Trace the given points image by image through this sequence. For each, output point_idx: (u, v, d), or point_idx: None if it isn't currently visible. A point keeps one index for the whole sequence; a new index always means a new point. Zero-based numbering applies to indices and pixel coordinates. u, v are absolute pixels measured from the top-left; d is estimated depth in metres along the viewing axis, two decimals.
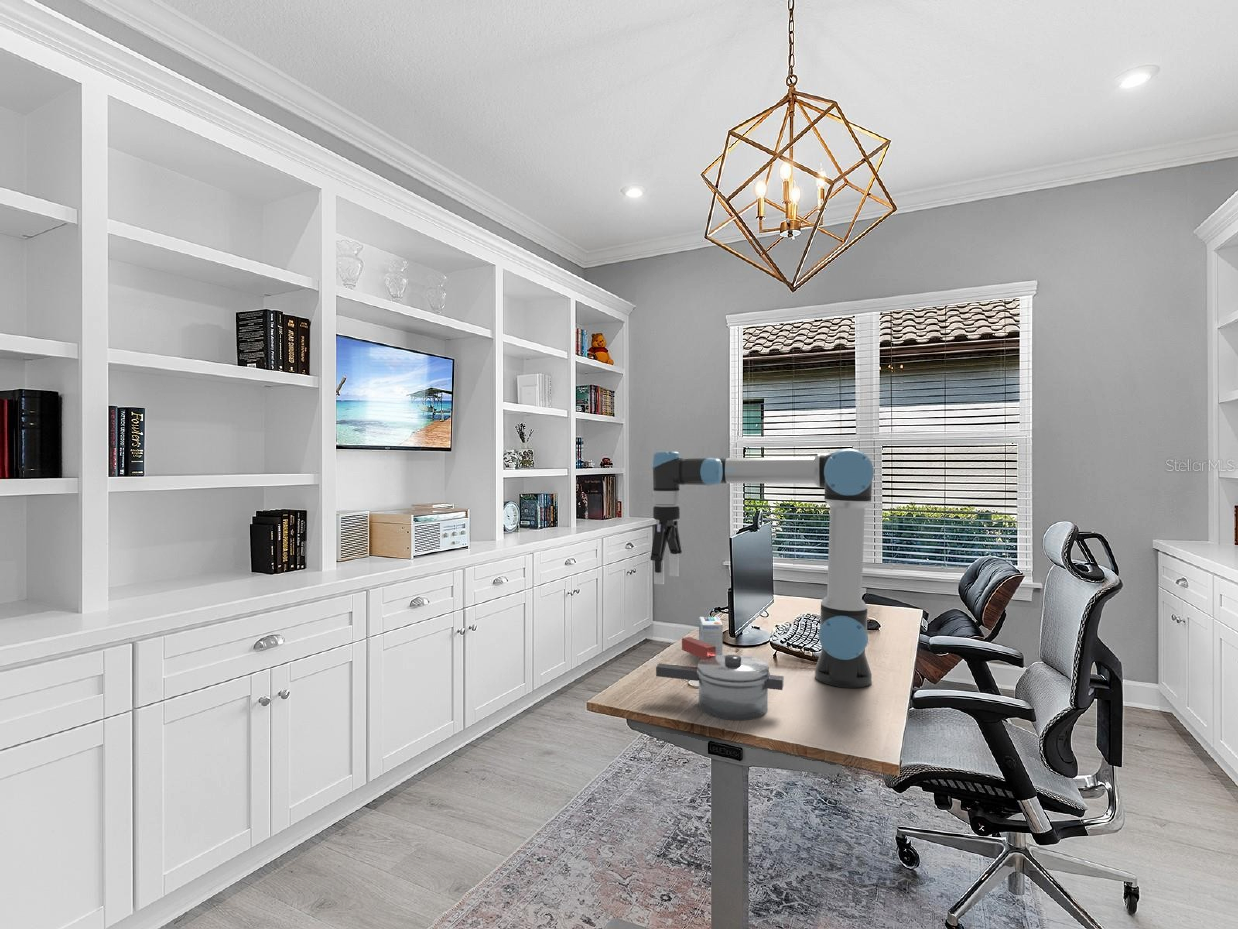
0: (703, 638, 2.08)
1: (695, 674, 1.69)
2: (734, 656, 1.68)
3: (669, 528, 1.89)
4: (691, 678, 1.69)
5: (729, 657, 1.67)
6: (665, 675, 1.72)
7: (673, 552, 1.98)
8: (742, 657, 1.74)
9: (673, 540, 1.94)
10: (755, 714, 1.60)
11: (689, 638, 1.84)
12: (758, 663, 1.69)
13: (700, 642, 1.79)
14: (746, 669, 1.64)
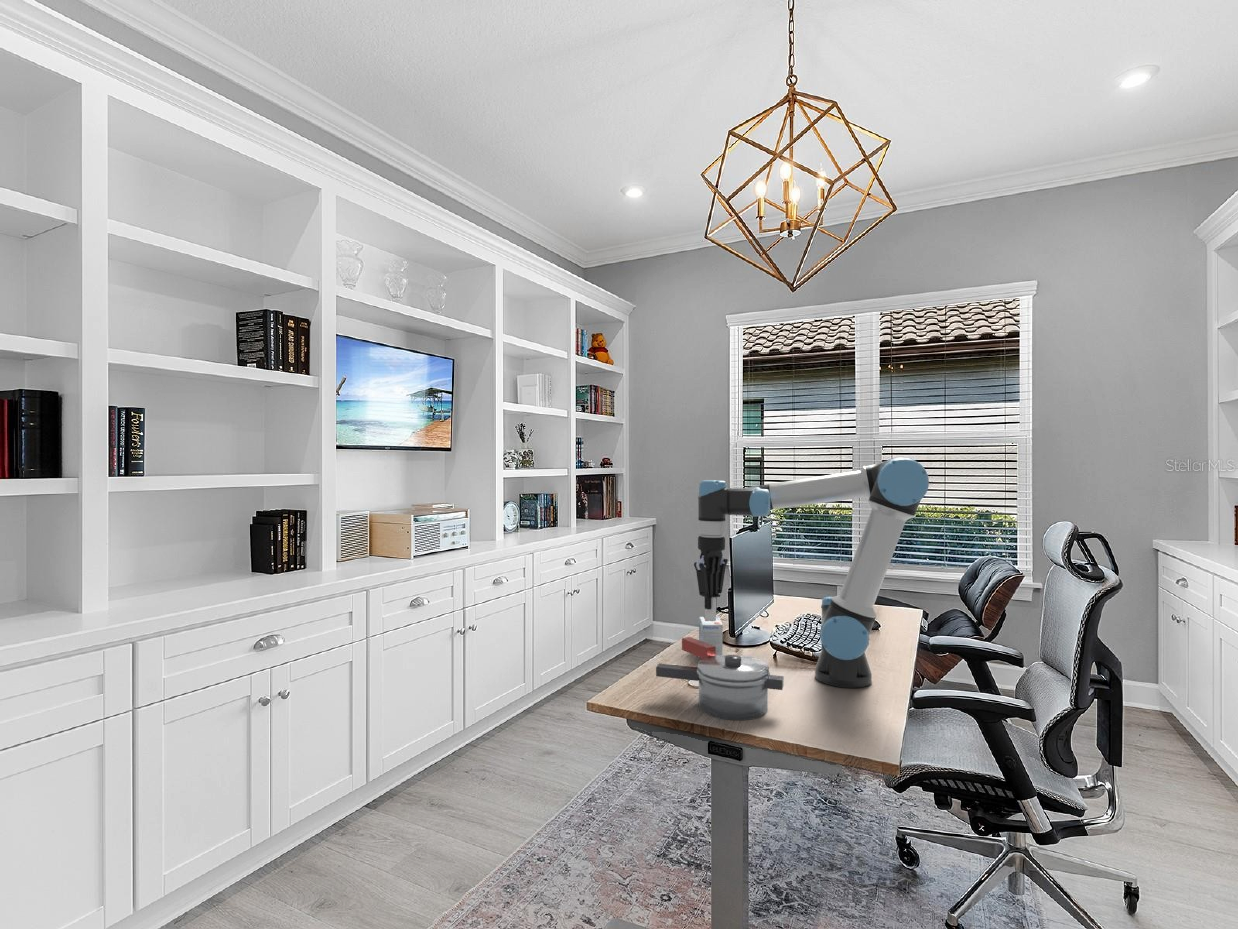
0: (703, 638, 2.08)
1: (695, 674, 1.69)
2: (734, 656, 1.68)
3: (711, 561, 1.84)
4: (691, 678, 1.69)
5: (729, 657, 1.67)
6: (665, 675, 1.72)
7: None
8: (742, 657, 1.74)
9: (715, 575, 1.86)
10: (755, 714, 1.60)
11: (689, 638, 1.84)
12: (758, 663, 1.69)
13: (700, 642, 1.79)
14: (746, 669, 1.64)
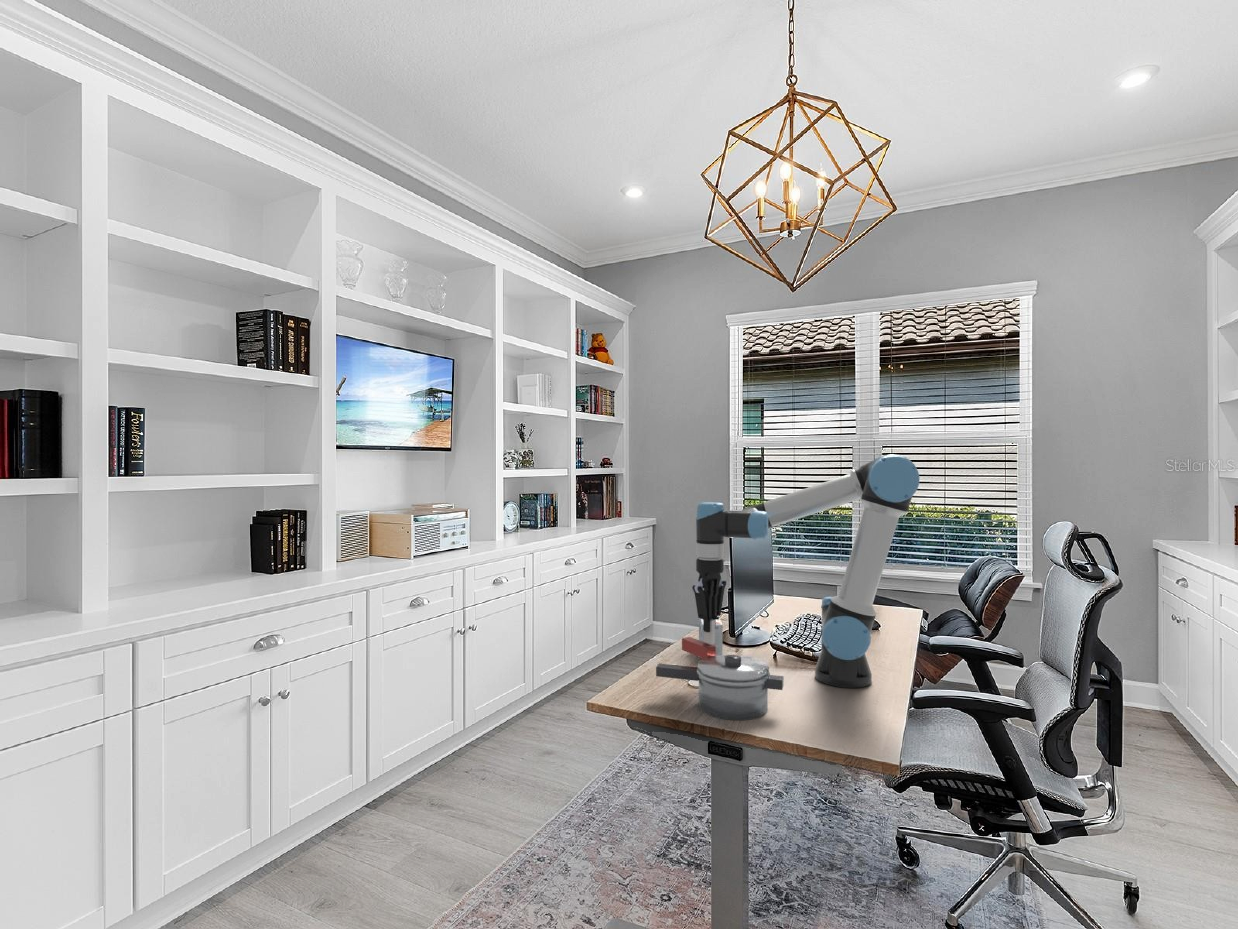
0: (703, 638, 2.08)
1: (695, 674, 1.69)
2: (734, 656, 1.68)
3: (709, 584, 1.83)
4: (691, 678, 1.69)
5: (729, 657, 1.67)
6: (665, 675, 1.72)
7: None
8: (742, 657, 1.74)
9: (713, 598, 1.86)
10: (755, 714, 1.60)
11: (689, 638, 1.84)
12: (758, 663, 1.69)
13: (700, 642, 1.79)
14: (746, 669, 1.64)
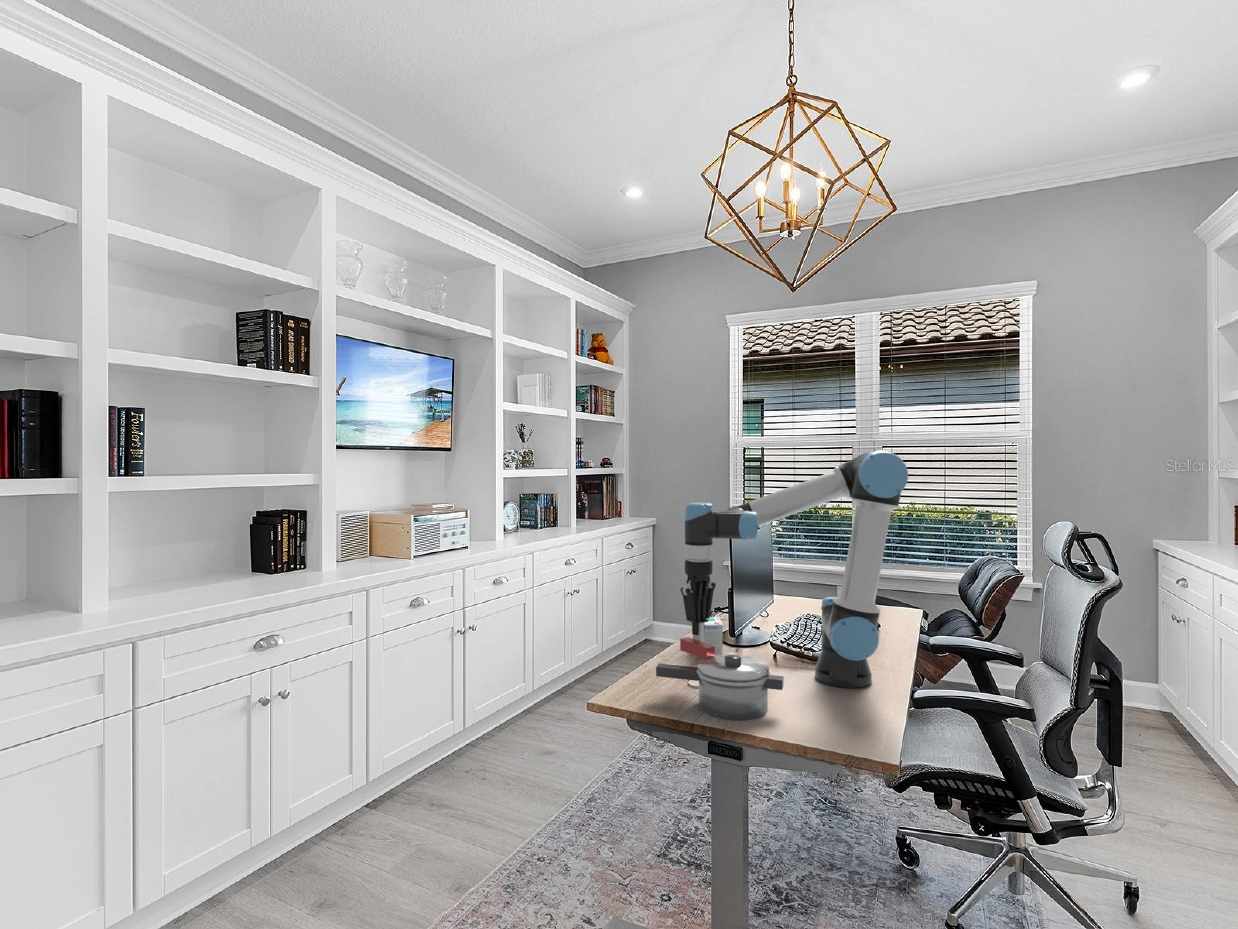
0: None
1: (695, 674, 1.69)
2: (734, 656, 1.68)
3: (698, 586, 1.80)
4: (691, 678, 1.69)
5: (729, 657, 1.67)
6: (665, 675, 1.72)
7: None
8: (741, 657, 1.74)
9: (702, 600, 1.82)
10: (755, 714, 1.60)
11: (687, 638, 1.84)
12: (758, 663, 1.69)
13: (699, 642, 1.79)
14: (746, 669, 1.64)
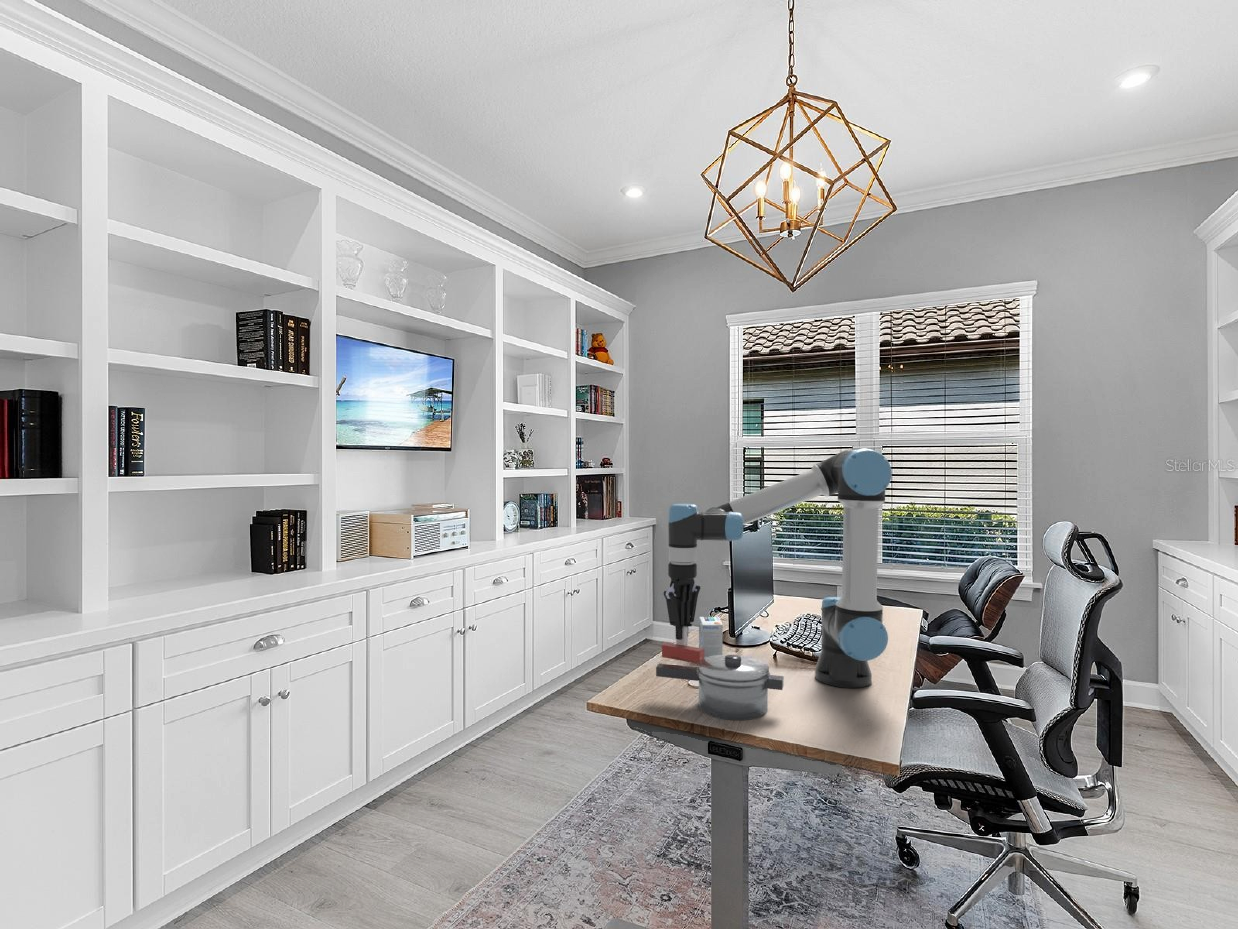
0: (703, 638, 2.08)
1: (695, 674, 1.69)
2: (733, 656, 1.68)
3: (682, 589, 1.75)
4: (691, 678, 1.69)
5: (730, 658, 1.67)
6: (665, 675, 1.72)
7: None
8: None
9: (686, 604, 1.78)
10: (755, 714, 1.60)
11: (668, 643, 1.78)
12: (750, 659, 1.72)
13: (685, 646, 1.75)
14: (750, 667, 1.65)
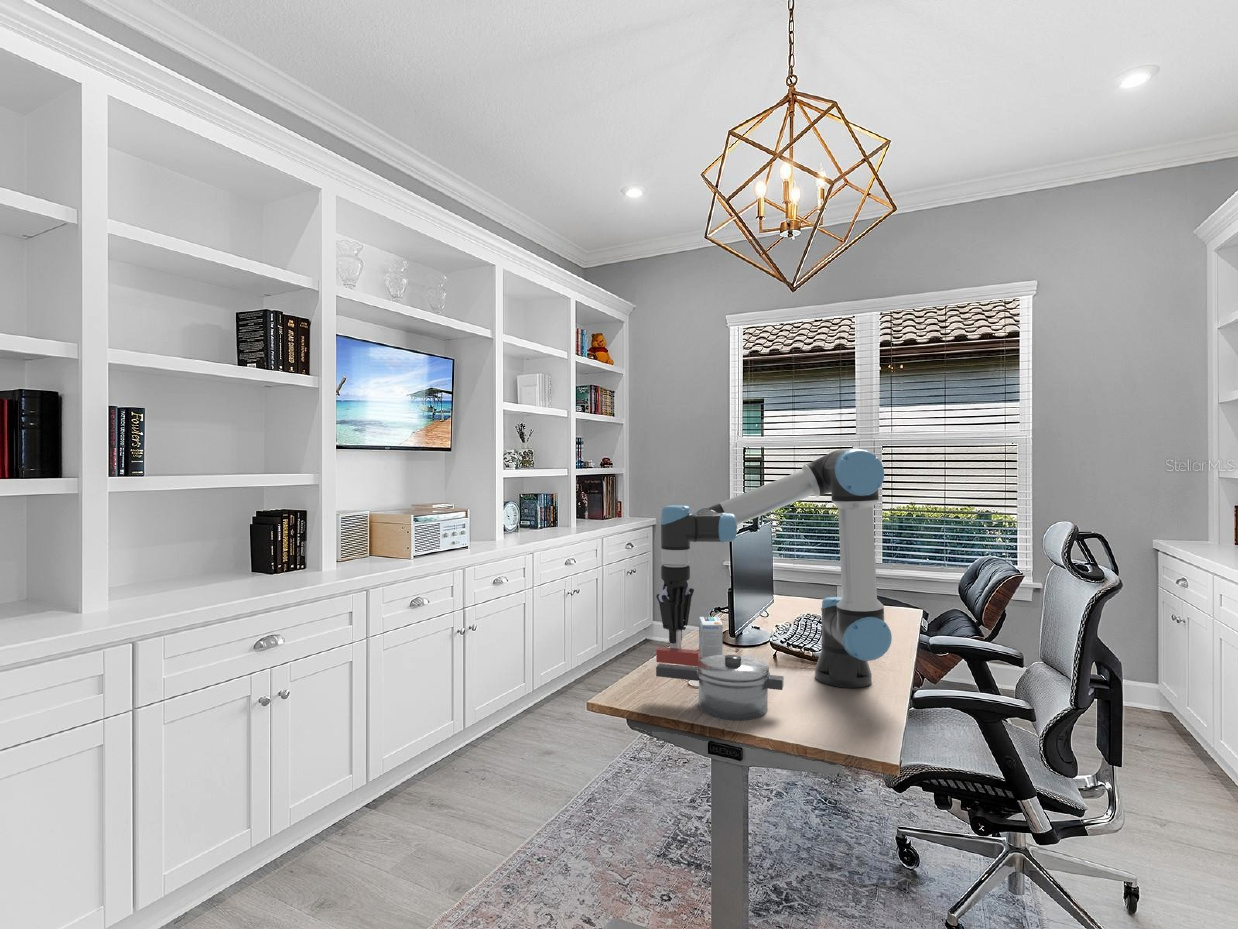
0: (703, 638, 2.08)
1: (695, 674, 1.69)
2: (732, 656, 1.68)
3: (675, 592, 1.73)
4: (691, 678, 1.69)
5: (731, 658, 1.67)
6: (665, 675, 1.72)
7: None
8: (723, 656, 1.75)
9: (679, 607, 1.75)
10: (755, 714, 1.60)
11: (661, 648, 1.74)
12: (745, 658, 1.73)
13: (680, 650, 1.72)
14: (751, 666, 1.66)
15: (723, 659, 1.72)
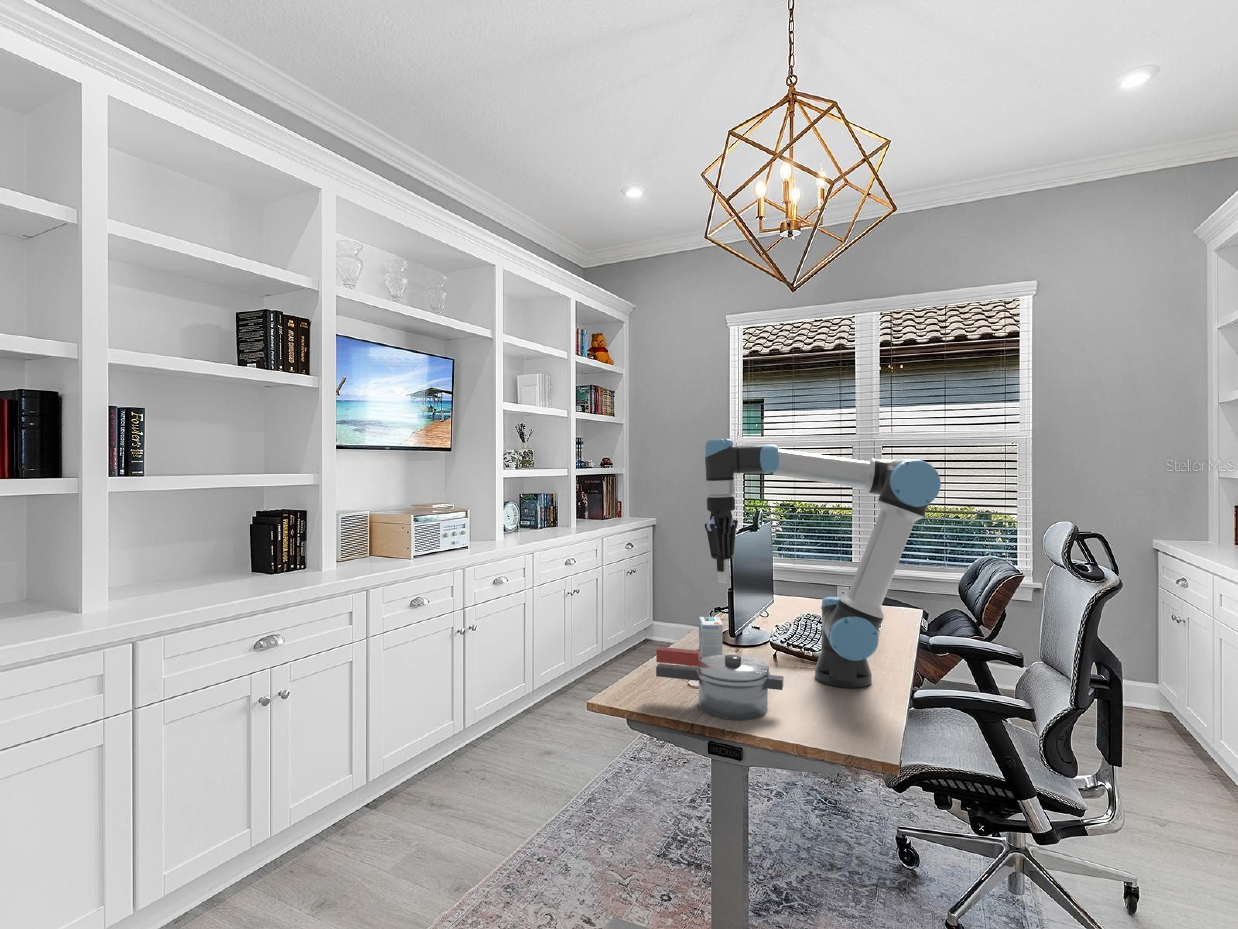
0: (703, 638, 2.08)
1: (695, 674, 1.69)
2: (732, 656, 1.68)
3: (722, 522, 1.79)
4: (691, 678, 1.69)
5: (731, 658, 1.67)
6: (665, 675, 1.72)
7: None
8: (723, 656, 1.75)
9: (726, 537, 1.81)
10: (755, 714, 1.60)
11: (661, 648, 1.74)
12: (745, 658, 1.73)
13: (680, 650, 1.72)
14: (751, 666, 1.66)
15: (723, 659, 1.72)
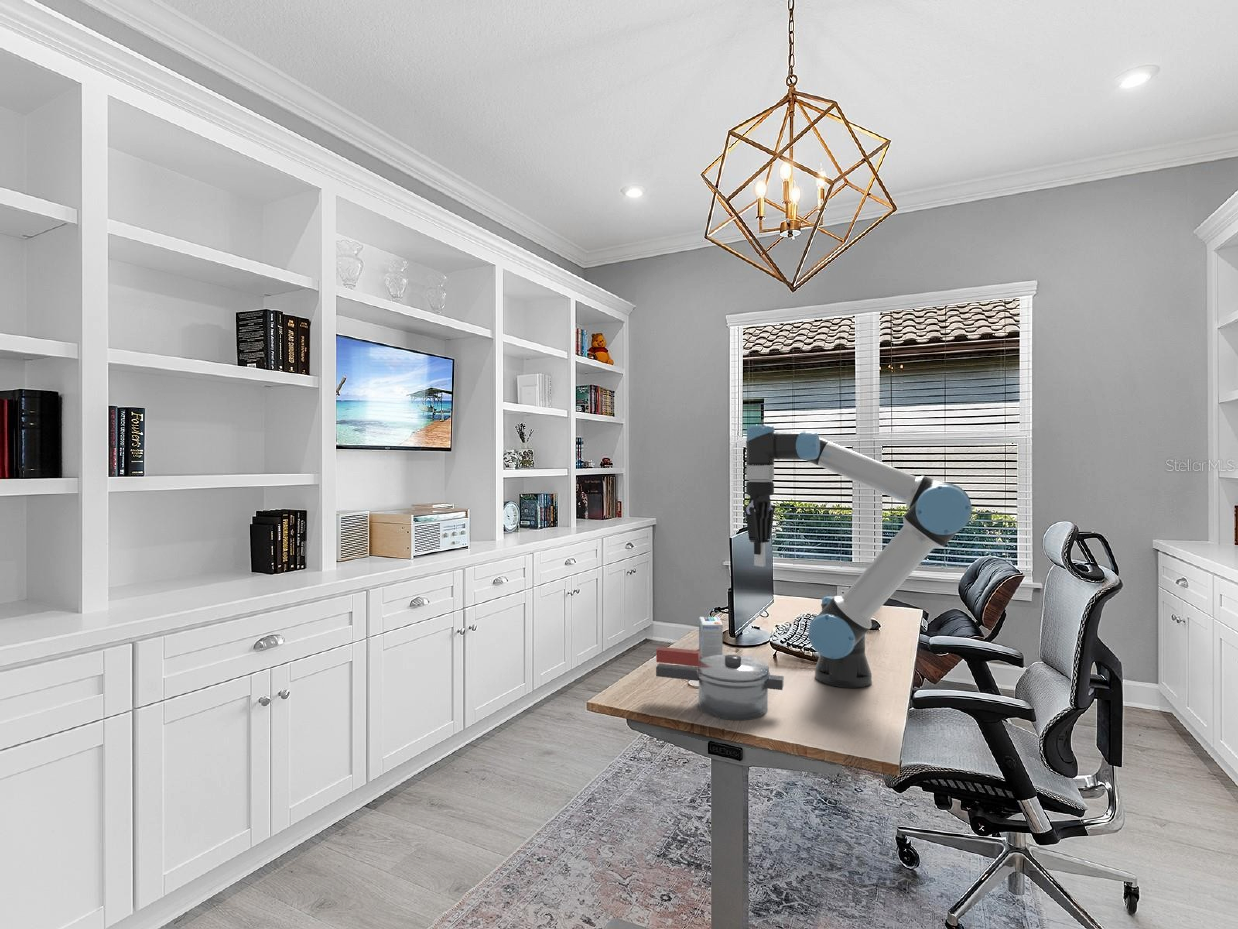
0: (703, 638, 2.08)
1: (695, 674, 1.69)
2: (732, 656, 1.68)
3: (760, 506, 1.83)
4: (691, 678, 1.69)
5: (731, 658, 1.67)
6: (665, 675, 1.72)
7: None
8: (723, 656, 1.75)
9: (763, 521, 1.86)
10: (755, 714, 1.60)
11: (661, 648, 1.74)
12: (745, 658, 1.73)
13: (680, 650, 1.72)
14: (751, 666, 1.66)
15: (723, 659, 1.72)
